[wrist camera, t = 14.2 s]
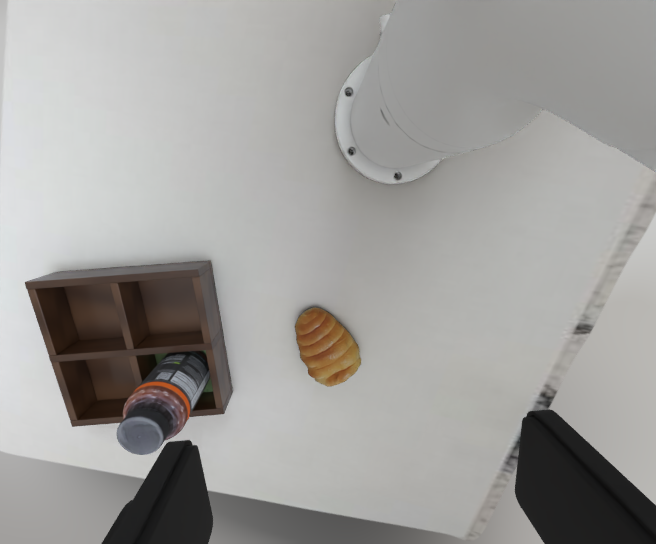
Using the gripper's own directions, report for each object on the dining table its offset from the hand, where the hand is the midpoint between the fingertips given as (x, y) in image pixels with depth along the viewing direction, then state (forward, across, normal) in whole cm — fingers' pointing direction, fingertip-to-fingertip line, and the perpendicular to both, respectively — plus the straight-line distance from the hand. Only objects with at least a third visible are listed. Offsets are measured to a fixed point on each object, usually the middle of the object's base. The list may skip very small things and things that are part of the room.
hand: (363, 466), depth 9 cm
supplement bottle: (+28, +18, +12) cm, 35 cm away
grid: (+28, +22, +8) cm, 37 cm away
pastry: (+28, +1, +11) cm, 31 cm away
